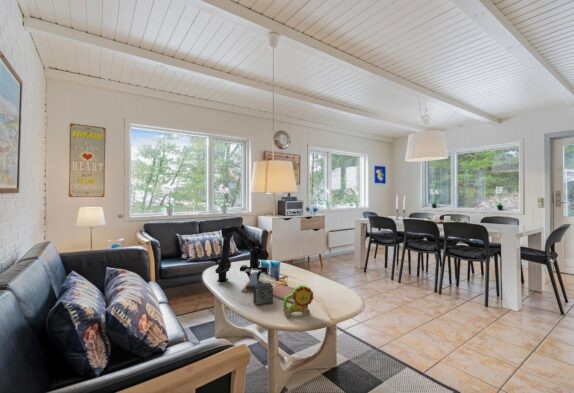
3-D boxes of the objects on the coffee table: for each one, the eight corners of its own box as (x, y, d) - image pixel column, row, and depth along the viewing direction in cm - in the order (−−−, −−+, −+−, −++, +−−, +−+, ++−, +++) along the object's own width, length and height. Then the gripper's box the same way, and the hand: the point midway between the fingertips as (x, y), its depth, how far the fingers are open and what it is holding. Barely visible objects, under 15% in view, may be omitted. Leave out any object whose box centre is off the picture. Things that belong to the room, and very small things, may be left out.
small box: (270, 299, 174) (270, 282, 174) (273, 303, 168) (273, 285, 168) (253, 301, 171) (252, 284, 170) (255, 306, 165) (255, 287, 164)
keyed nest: (248, 283, 205) (248, 278, 205) (266, 283, 204) (266, 279, 204) (241, 292, 187) (241, 287, 187) (261, 292, 186) (261, 288, 186)
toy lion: (284, 317, 149) (284, 288, 149) (282, 313, 155) (282, 285, 154) (314, 315, 152) (314, 286, 151) (311, 311, 157) (311, 283, 157)
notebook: (312, 297, 178) (312, 294, 178) (293, 305, 167) (293, 301, 167) (282, 287, 198) (282, 284, 198) (263, 293, 186) (263, 290, 186)
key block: (249, 286, 191) (249, 275, 191) (252, 282, 200) (252, 271, 200) (256, 286, 191) (256, 276, 191) (259, 282, 200) (259, 272, 199)
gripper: (269, 255, 202) (270, 278, 202) (243, 255, 204) (244, 277, 204) (267, 259, 191) (267, 283, 191) (239, 259, 193) (239, 282, 193)
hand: (254, 281), depth 195 cm, fingers closed on key block, 4 cm apart
